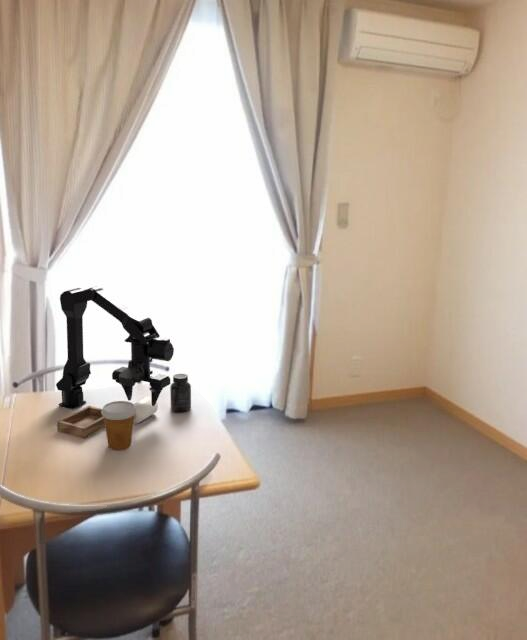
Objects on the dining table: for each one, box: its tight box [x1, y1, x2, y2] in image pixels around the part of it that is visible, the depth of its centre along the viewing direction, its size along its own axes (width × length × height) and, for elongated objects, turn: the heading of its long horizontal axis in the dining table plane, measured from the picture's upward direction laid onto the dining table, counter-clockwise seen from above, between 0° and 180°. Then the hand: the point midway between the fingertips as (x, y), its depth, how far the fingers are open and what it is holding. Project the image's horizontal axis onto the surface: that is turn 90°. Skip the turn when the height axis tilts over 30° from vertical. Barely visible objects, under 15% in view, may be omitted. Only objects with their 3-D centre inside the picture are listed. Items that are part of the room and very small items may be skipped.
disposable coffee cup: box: [101, 400, 136, 451], centre depth 160 cm, size 10×10×12 cm
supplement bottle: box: [169, 373, 192, 414], centre depth 186 cm, size 7×7×12 cm
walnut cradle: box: [56, 405, 105, 440], centre depth 172 cm, size 10×14×3 cm
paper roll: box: [133, 396, 159, 425], centre depth 179 cm, size 10×6×6 cm, turn 156°
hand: (141, 402), depth 179 cm, fingers open, 9 cm apart
